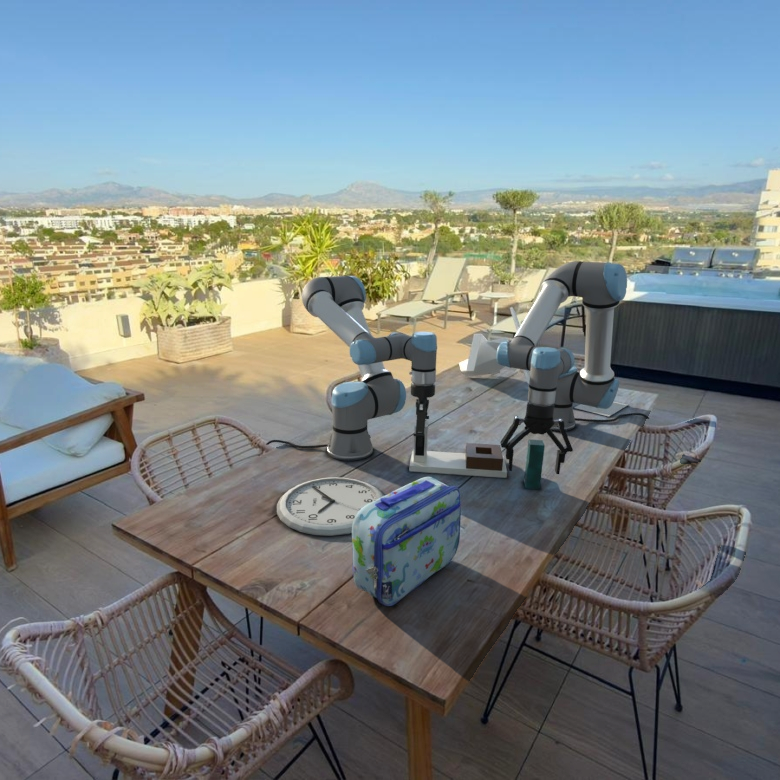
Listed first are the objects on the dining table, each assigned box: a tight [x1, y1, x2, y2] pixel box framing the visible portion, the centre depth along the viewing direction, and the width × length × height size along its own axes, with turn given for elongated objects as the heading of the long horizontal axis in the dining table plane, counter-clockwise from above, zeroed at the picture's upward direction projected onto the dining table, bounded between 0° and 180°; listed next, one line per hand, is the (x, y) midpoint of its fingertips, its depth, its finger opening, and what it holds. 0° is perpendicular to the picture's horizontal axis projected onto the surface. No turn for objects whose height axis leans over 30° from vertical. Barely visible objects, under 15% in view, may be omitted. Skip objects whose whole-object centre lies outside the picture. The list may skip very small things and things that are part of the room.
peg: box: [523, 439, 546, 490], centre depth 154 cm, size 4×4×14 cm
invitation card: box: [573, 400, 629, 418], centre depth 226 cm, size 21×1×15 cm
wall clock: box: [276, 476, 385, 537], centre depth 142 cm, size 30×2×30 cm
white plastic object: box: [458, 306, 530, 385], centre depth 259 cm, size 37×45×31 cm
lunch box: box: [351, 476, 462, 607], centre depth 111 cm, size 26×11×21 cm, turn 135°
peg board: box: [408, 419, 508, 479], centre depth 165 cm, size 30×12×14 cm, turn 83°
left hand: (420, 446), depth 167 cm, fingers open, 13 cm apart
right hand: (533, 470), depth 154 cm, fingers open, 13 cm apart
